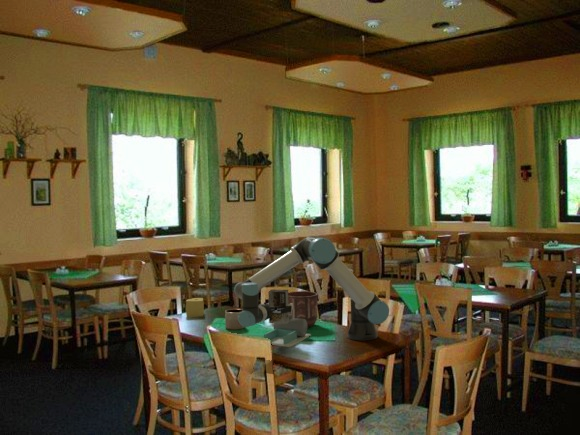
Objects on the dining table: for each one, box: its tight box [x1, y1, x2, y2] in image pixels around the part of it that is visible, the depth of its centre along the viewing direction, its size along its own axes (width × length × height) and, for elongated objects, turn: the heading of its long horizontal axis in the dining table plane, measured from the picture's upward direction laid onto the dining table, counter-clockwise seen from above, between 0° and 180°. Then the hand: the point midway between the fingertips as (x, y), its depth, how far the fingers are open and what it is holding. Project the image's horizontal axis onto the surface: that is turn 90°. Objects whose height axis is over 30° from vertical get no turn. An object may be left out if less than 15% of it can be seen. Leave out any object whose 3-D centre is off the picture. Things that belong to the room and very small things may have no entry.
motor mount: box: [263, 314, 312, 348], centre depth 313 cm, size 19×24×12 cm
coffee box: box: [268, 288, 289, 324], centre depth 307 cm, size 9×6×16 cm
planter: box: [224, 308, 245, 331], centre depth 341 cm, size 11×11×10 cm
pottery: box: [288, 290, 319, 329], centre depth 343 cm, size 18×18×18 cm
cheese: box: [185, 297, 205, 318], centre depth 375 cm, size 10×11×10 cm
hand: (282, 304), depth 311 cm, fingers closed on coffee box, 10 cm apart
